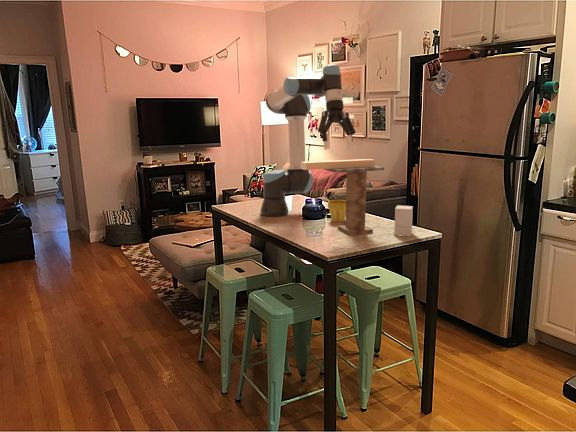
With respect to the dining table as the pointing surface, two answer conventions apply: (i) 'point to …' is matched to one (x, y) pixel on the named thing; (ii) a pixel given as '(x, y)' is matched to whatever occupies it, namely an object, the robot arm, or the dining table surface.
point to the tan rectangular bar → (337, 164)
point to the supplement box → (403, 220)
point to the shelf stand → (355, 199)
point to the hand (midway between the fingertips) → (338, 149)
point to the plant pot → (337, 210)
